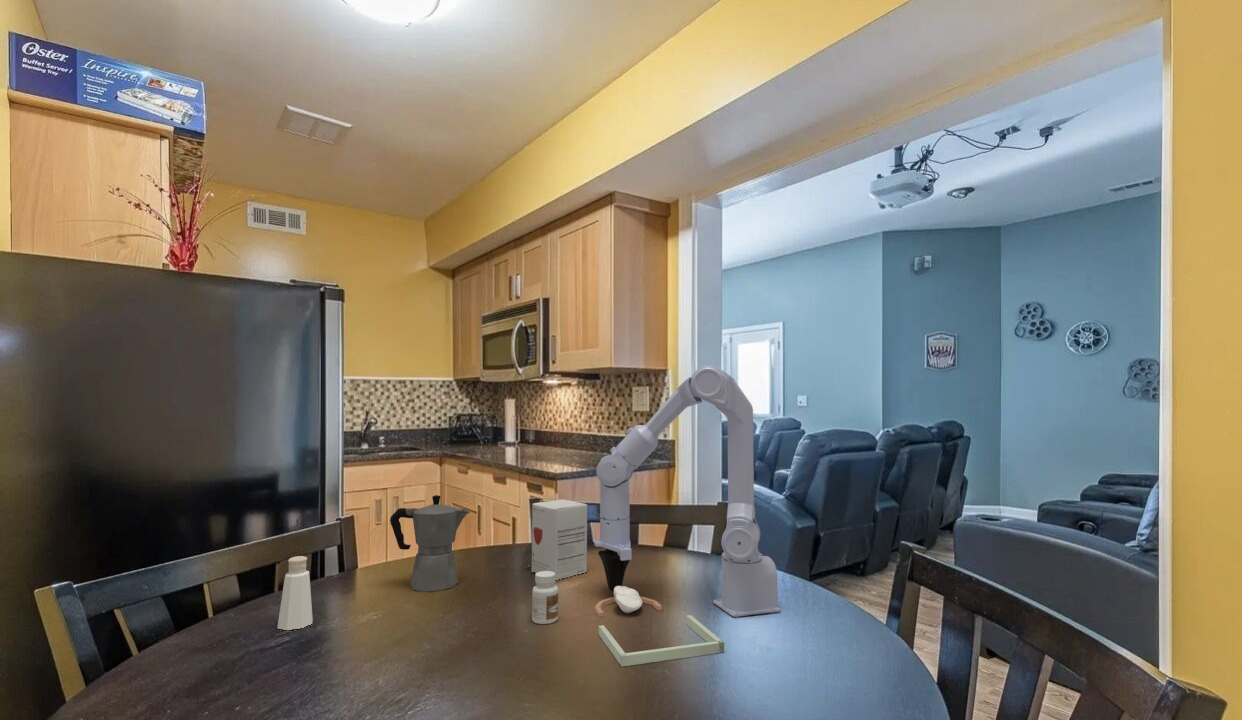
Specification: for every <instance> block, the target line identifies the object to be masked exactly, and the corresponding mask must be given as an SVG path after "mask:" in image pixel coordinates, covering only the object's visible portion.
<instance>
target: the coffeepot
mask: <svg viewBox="0 0 1242 720" xmlns="http://www.w3.org/2000/svg"><path fill="white" fill-rule="evenodd" d="M431 498H432V504H430V505H427V506H423V507H419V508H417V507H408V508H406V507H403V508H402V507H400V508H397V510H395V512H394V513H392V515H390V519H389V523H390V526H391V527H392V530H393V534H394V537H395V539H396V543H397V546H398V549H399V550H404V551H405V550H410V549H411V544H406V543H405V536H404V533H403V532H402V523H401V522H400V519H401V518H404V519H412V523H413V531H414V537H415V538H414V539H415V544H416V545H417V546H418V548H417V553H416V554H415V558H414V564H413V569H412V575H411V579H410V585H409V586H410V587H411V588H412V590H413V591H416V592H422V593H433V592H442V591H446V590H449V589H452V588H454V587H455V586H456V585H457V584H458V583H459V580H458V573H457V572H458V571H457V567H456V560H455V552H454V551H453V543H455V541H456V535H457V530H458V528H459V527H460V525H461V524H462V522H463V520H464V518H465V517H466V515H468V514H470V510H468V509H467V508H463V507H455V506H453V505H447V504H441V503H440V502H441V501H440V500H441V495H432V497H431Z"/></svg>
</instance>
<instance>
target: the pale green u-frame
mask: <svg viewBox="0 0 1242 720" xmlns="http://www.w3.org/2000/svg"><path fill="white" fill-rule="evenodd" d="M685 619H686V620H685V621H686V622H685V623H686V625H687V626H688V627H689V629H692V631H694V632H695V633H696V634H697V636H699V637H700V638H702V639H703V640H704V641H705V642H700V643H692V644H684V645H677V646H671V647H670V646H669V647H663V648H655V649H648V650H647V649H646V650H641V651H633V652H625V651H624V650H623V648H622V647H621V646H620V644H619V643H618V642H617V641H616V639H615V638H614V637H613V635H612V634H611V632H610V631H609V630H608V629H607V627H606V626H605V625H604V624H603V625H598V636H599V637H600V638H601V640H602V642H603V643H604V644H605V645H606V647H607V648H608V650H609V651H610V652H611V654H612V656H613V657H614V658H615V659H616V661H617V662H618V663H619V664H618V665H620V667H627V666H628V667H629V666H635V665H642V664H644V665H645V664H651V663H658V662H665V661H671V660H677V659H679V660H680V659H686V658H687V659H688V658H692V657H693V658H694V657H699V656H706V655H708V656H709V655H714V654H720V653H721V654H722V653H725V642H724V641H723V640H722V639H721V638H719V636H717V634H716V635H715V634H714V632H712V631H711V630H709V628H707V627H706V626H705V625H703V624H702V623H701V622H700V621H699V620H697V619H696V618H695V617H694V616H693V615H691V614H689V615H686V618H685Z"/></svg>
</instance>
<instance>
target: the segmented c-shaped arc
mask: <svg viewBox="0 0 1242 720" xmlns="http://www.w3.org/2000/svg"><path fill="white" fill-rule="evenodd" d="M640 598H641V599H642V602H643V603H642V604H646V605H650V606H652V607H653V608H655V610H657V611H662V610H663V606H662V604H661V603H659V602H658V601H657V600H655V599H652V598H648V597H644V596H640ZM613 603H617V602H616V600H615V598H614V596H611V597H608V598H604V599H602V600H600V601H598V602H597V603H596V605H595V606H594V612H595V614H596V615H597V616H598V617H599V618H602V617H605V612H604V611H603V610H602V609H603V607H605V606H608V605H609V604H610V605H611V604H613Z"/></svg>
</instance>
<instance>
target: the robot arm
mask: <svg viewBox="0 0 1242 720" xmlns="http://www.w3.org/2000/svg"><path fill="white" fill-rule="evenodd" d="M703 401H705V402H707V403H709V404H711V405H713V406H715V408H716V409H717V410H718V411H720V412H721V413H722V414H723V415H724V416H725V417H726V418H727V510H726V526H725V527H726V528H725V529H724V532H723V534H722V537H721V543H720V544H721V547H722V550H723V552H722V553H721V594H722V595H721V599H713V601H712V603H713V604H714V605H716V606H717V607H718V608H720V609H722V610H723V611H724V612H726V613H727V614H728V615H730V616H732V617H733V618H738V617H745V616H754V615H762V614H771V613H779V612H781V608H780V607H779V603H778V602H779V598H778V597H779V595H778V594H779V592H778V590H779V589H778V588H779V587H778V586H779V585H778V584H779V583H778V571H777V566H776V563H775V562H774V560H773V559H772V558H771V557H770V556H768V555H763V554H762V553H761V552H760V550H759V542H760V540H761V539H760V538H761V529H760V526H759V524H758V521H757V519H756V507H755V491H754V490H755V487H754V485H755V483H754V482H755V479H754V477H755V476H754V475H755V474H754V469H755V468H754V465H755V464H754V463H755V462H754V409H753V405H752V403H751V402H750V400H749V399H748V397H747V396H746V394H745V393H744V392H743V390H742V388H741V387H740V386H739V385H738V383H737V381H736V379H735V378H733V377H732V376H731V375H730V374H728V373H727V372H725V371H724V370H722V369H720V368H718V367H716V366H713V365H703V366H701V367H698V368H697V369H696V370H695V371H694V372H693V374H692V376H689V377H687V378H686V379H685V380H684V381H683V382H682V383H681V384H680V385H679V386H678V387H677V388H676V389H675V390H674V392H673V393H672V394H671V395H670V396H669V397H668V398H667V400H666V401H664V403H663V404H662V405H661V407H660V408H658V410H657V411H656V412H655V413H654V415H653V416H652V417H651V418H650V419H649V420H648V421H647V423H646V424H638V425H635V426H634V427H629V428H628V429H626V431H625V434H626V436H625V437H624V438H623V439H622V440H621V441H620V442H619V444H617V446H613V447H612V448H610V449H609V451H610V453H611V454H610V455H605V456H603V457H601V458H600V461H599V462H598V464H597V466H596V476H597V478H598V480H599V483H600V494H599V538H598V539H599V540H594V541H593V546H595V547H599V548H603V550H598V552H597V554H598V556H599V558H600V559H601V563H602V565H603V570H604V574H605V579H606V583H607V584H606V585H607V587H608V590H609V591H610V592H614V588H615V587H616V586H623V582H624V577H625V573H626V570H627V567H628V565H629V563H630V561H632V557H633V555H632V554H633V553H632V552H633V551H632V550H633V549H632V548H631V543H632V541H631V540H630V537H631V536H630V535H631V533H630V525H631V524H630V522H631V521H630V519H631V518H630V513H631V512H630V501H631V499H630V498H631V497H630V495H631V494H630V480H631V478H632V477H633V474H634V470H637V469H638V467H640V466H641V465H642V463H644V461H646V459H647V458H648V457H649V456H650V455H651V454H652V453H653V452H654V451H655V450H656V449H657V448H658V446H659V435H661V434H662V433H663V431H665V429H667V428H668V427H669V426H670V425H671V424H672V423H673V422H674V421H675V419H677V418H678V416H679V415H681V414H682V413H683V412H684V411H685V410H686V409H687V408H688V407H692V406H695V405H699V404H702V403H703Z"/></svg>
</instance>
